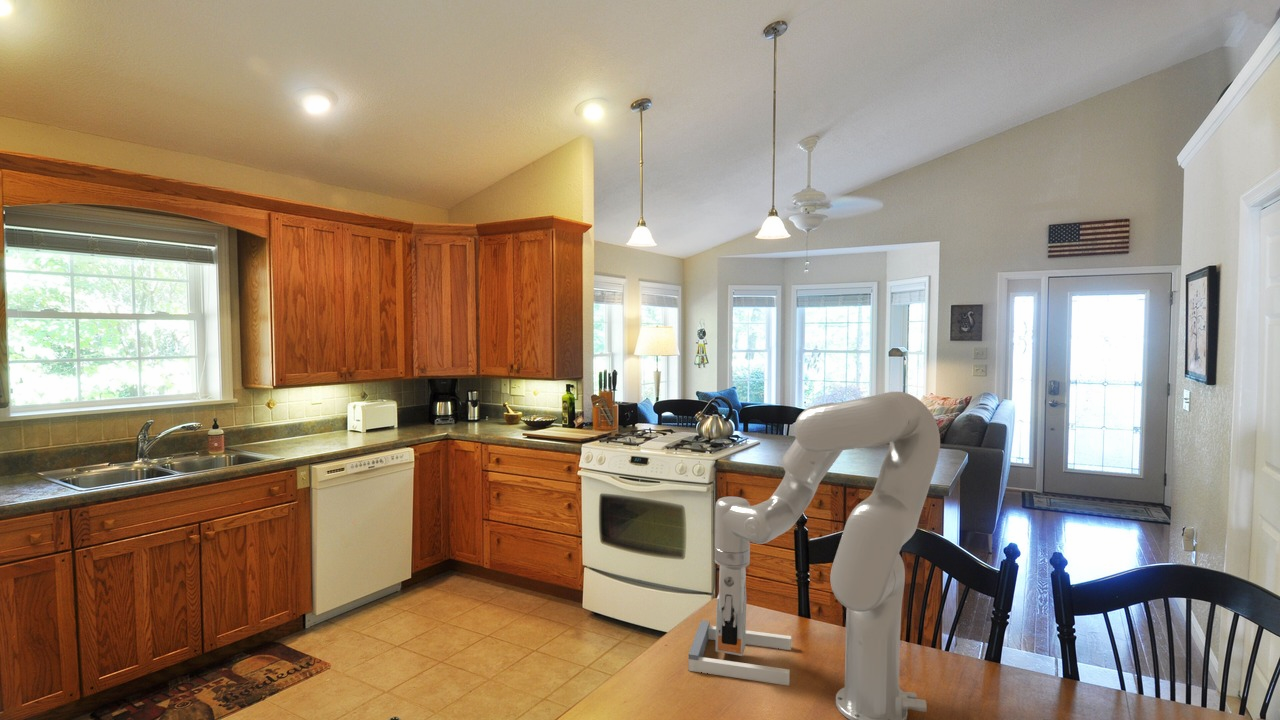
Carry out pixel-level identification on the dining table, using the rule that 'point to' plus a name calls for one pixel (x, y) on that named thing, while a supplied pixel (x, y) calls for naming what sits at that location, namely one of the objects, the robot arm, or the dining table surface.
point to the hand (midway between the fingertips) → (730, 637)
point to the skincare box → (741, 632)
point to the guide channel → (737, 668)
